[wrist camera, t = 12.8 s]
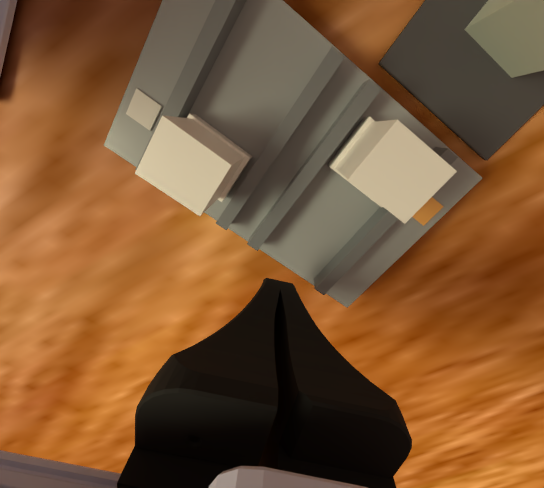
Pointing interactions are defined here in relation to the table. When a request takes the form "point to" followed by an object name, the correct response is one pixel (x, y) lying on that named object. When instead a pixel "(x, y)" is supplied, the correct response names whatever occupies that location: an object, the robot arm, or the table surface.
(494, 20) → the driver
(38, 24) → the table surface
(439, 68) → the tool mat
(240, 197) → the switch panel
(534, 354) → the table surface
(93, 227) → the table surface
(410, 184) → the tab
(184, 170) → the tab
